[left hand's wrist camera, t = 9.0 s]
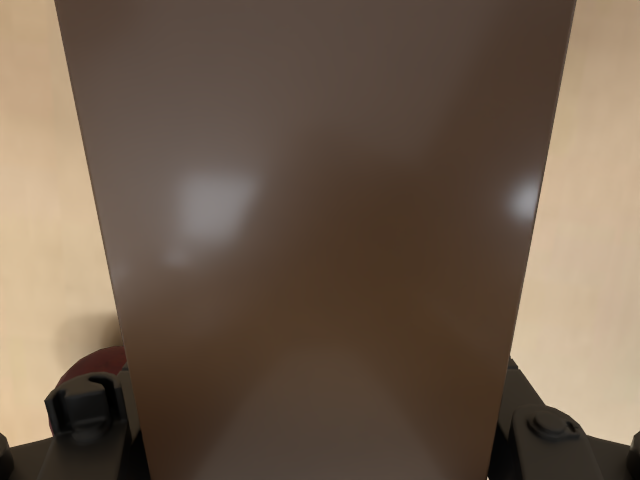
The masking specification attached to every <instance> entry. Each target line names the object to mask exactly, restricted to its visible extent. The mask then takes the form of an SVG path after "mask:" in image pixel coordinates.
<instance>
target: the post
mask: <svg viewBox="0 0 640 480" xmlns="http://www.w3.org/2000/svg"><path fill="white" fill-rule="evenodd" d="M54 1H55V6H56V11H57V16H58V21H59V26H60V31H61V36H62V41H63V46H64V51H65V56H66V61H67V66H68V71H69V76H70V81H71V86H72V90H73V95H74V100H75V105H76V110H77V115H78V120H79V125H80V130H81V135H82V140H83V145H84V150H85V155H86V160H87V165H88V170H89V175H90V180H91V185H92V190H93V195H94V200H95V205H96V210H97V215H98V220H99V225H100V230H101V235H102V239H103V244H104V249H105V254H106V259H107V264H108V269H109V274H110V279H111V284H112V289H113V294H114V299H115V304H116V309H117V314H118V319H119V324H120V329H121V334H122V339H123V344H124V349H125V354H126V359H127V364H128V369H129V374H130V379H131V383H132V388H133V393H134V398H135V403H136V408H137V413H138V418H139V423H140V428H141V433H142V438H143V443H144V448H145V453H146V458H147V463H148V468H149V473H150V478H151V480H486V479H487V474H488V469H489V463H490V458H491V453H492V447H493V442H494V437H495V431H496V426H497V421H498V415H499V410H500V405H501V399H502V394H503V389H504V383H505V378H506V373H507V367H508V362H509V357H510V351H511V346H512V341H513V335H514V330H515V325H516V320H517V314H518V309H519V304H520V298H521V293H522V288H523V282H524V277H525V272H526V266H527V261H528V256H529V250H530V245H531V240H532V234H533V229H534V224H535V218H536V213H537V208H538V202H539V197H540V192H541V186H542V181H543V176H544V171H545V165H546V160H547V155H548V149H549V144H550V139H551V133H552V128H553V123H554V117H555V112H556V107H557V101H558V96H559V91H560V85H561V80H562V75H563V69H564V64H565V59H566V53H567V48H568V43H569V37H570V32H571V27H572V21H573V16H574V11H575V6H576V0H54Z"/></svg>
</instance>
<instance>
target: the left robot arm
mask: <svg viewBox="0 0 640 480" xmlns="http://www.w3.org/2000/svg"><path fill="white" fill-rule="evenodd" d="M44 402H45V405H46V409H47V412H48V416H49V419H50V423H51V426H52V430H53V433H54V436H53V437H51V438H47V439H44V440H40V441H36V442H32V443H28V444H23V445H19V446H15V447H11V448H9V445H8V442H7V439H6V437H5V436H4V435H2V434H1V433H0V480H151V478H150V473H149V468H148V463H147V458H146V453H145V448H144V443H143V438H142V433H141V428H140V423H139V418H138V413H137V408H136V403H135V398H134V393H133V388H132V383H131V379H130V374H129V369H128V364H127V362H126V363H125V365H124V366H123V367H122V371H120V372H119V373H118V374H117V376H116V375H115V374H112V373H108V372H91V373H87V374H83V375H79V376H76V377H74V378H72V379H70V380H68V381H65V382H63V383H62V384H60V385H59V386H58V387H56V388H55V389H54V390H52V391H51V392H50V394H49V395H48V396H47V398H46V399H45V400H44ZM487 477H488V478H489V480H640V431H639V432H638V433H637V434H636V435H634V437H633V440H632V443H631V446H628V445H624V444H620V443H616V442H611V441H607V440H603V439H599V438H595V437H592V436H588V435H586V434H585V432H584V431H583V429H582V428H581V426H580V425H579V424H578V423H577V422H576V421H575V420H573V419H572V418H571V417H570V416H569V415H567V414H565V413H563V412H561V411H559V410H558V409H556V408H552V407H549V406H546V405H545V404H544V402H543V401H542V400H541V398H540V397H539V395H538V394H537V393H536V391H535V390H534V388H533V387H532V386H531V384H530V383H529V381H528V380H527V379H526V377H525V376H524V374H523V373H522V372H521V370H520V369H518V366H517V365H516V363H515V362H514V360H513V359H511V356H510V357H509V362H508V367H507V373H506V378H505V383H504V389H503V394H502V399H501V405H500V410H499V415H498V421H497V426H496V431H495V437H494V442H493V447H492V453H491V458H490V463H489V469H488V474H487ZM486 480H487V479H486Z"/></svg>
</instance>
